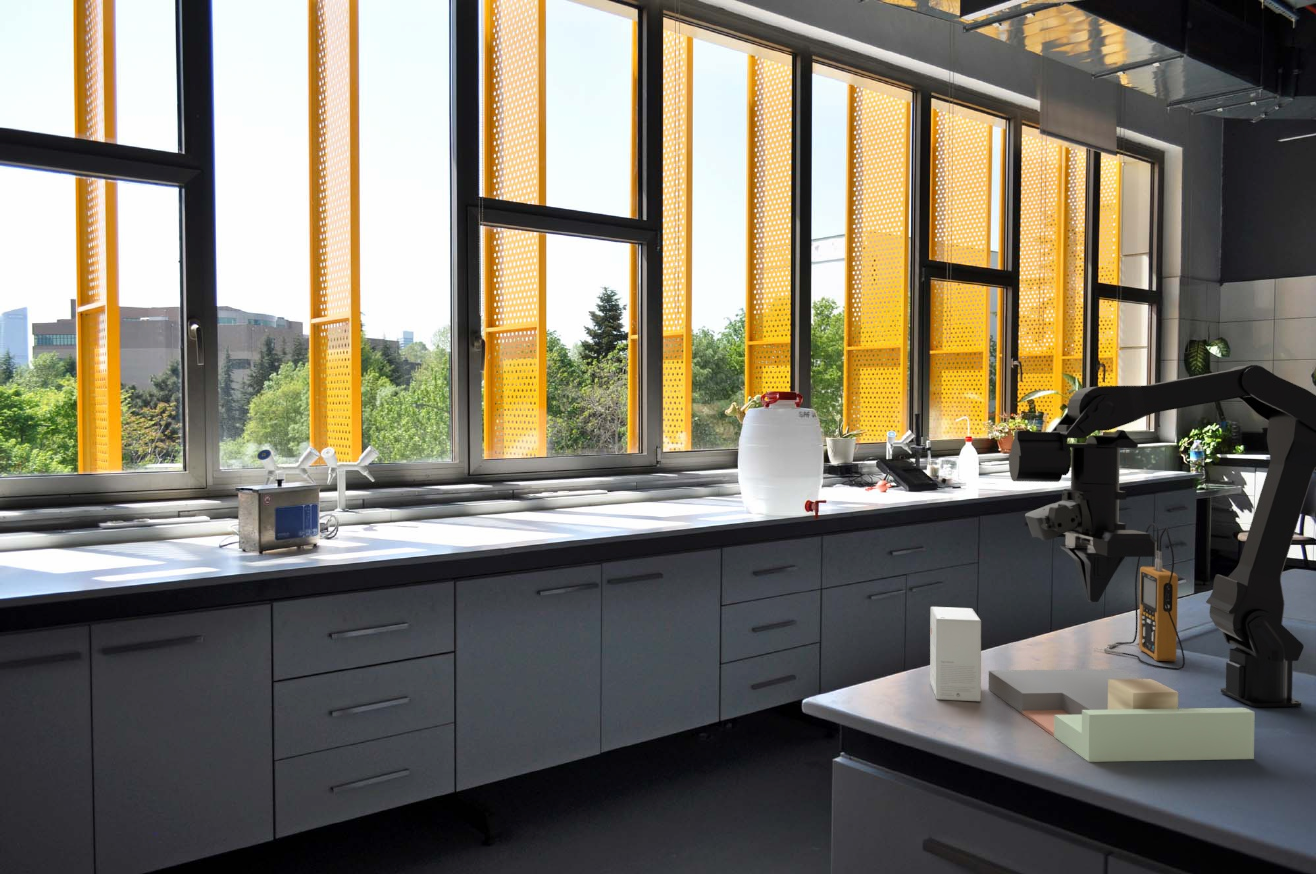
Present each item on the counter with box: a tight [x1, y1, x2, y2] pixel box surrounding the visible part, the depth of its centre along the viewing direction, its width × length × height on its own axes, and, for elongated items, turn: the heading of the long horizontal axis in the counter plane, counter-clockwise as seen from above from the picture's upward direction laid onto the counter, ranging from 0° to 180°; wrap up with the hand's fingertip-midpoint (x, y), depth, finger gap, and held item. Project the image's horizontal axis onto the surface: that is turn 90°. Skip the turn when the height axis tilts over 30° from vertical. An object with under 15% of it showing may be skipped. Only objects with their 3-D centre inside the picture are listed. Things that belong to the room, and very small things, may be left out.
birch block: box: [1108, 678, 1179, 710], centre depth 102 cm, size 5×5×4 cm
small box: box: [929, 606, 982, 702], centre depth 121 cm, size 8×6×10 cm
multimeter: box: [1091, 523, 1186, 670], centre depth 139 cm, size 15×10×20 cm
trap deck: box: [988, 668, 1256, 763], centre depth 110 cm, size 18×26×5 cm
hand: (1092, 601), depth 120 cm, fingers closed
